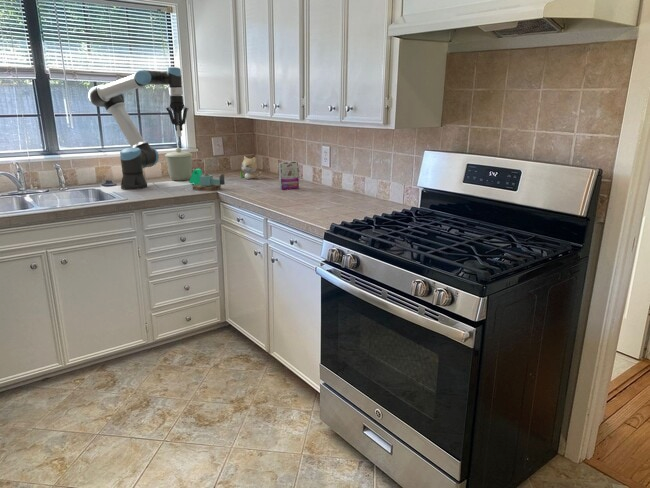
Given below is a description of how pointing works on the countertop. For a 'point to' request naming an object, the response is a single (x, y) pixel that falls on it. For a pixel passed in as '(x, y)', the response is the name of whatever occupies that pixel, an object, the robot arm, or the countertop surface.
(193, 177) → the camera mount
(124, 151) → the robot arm
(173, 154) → the canister
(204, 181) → the teal stepped block
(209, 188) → the post block
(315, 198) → the countertop surface
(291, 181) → the candy bar box
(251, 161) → the cream rounded figure
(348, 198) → the countertop surface
